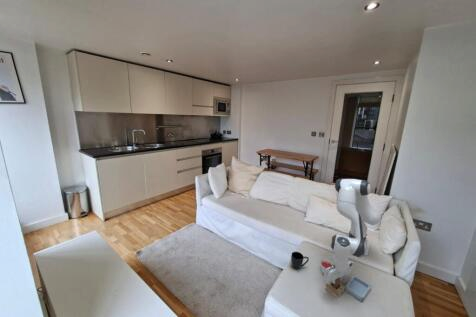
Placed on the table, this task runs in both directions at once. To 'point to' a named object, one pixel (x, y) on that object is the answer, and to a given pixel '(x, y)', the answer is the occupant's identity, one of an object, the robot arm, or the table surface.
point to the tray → (357, 288)
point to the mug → (297, 260)
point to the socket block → (335, 291)
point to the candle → (325, 265)
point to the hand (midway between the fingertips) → (336, 281)
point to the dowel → (336, 283)
